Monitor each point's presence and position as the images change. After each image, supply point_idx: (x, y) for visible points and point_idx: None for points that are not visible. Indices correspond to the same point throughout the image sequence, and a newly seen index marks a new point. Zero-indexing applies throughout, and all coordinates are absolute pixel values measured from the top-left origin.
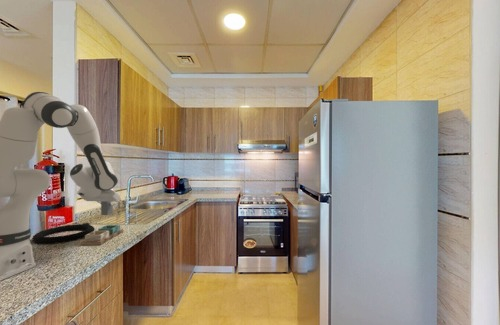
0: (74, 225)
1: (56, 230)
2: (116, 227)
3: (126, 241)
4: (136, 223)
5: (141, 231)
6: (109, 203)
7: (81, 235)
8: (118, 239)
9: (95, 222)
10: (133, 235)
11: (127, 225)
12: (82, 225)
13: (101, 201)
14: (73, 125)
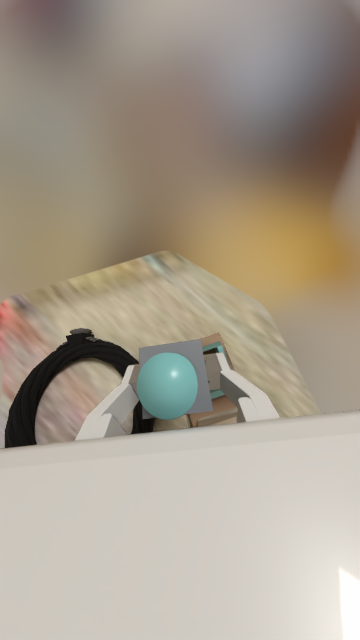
0: (55, 361)
1: (33, 400)
2: (228, 363)
3: (313, 409)
4: (184, 259)
5: (265, 314)
6: (218, 388)
7: (152, 427)
8: (270, 398)
9: (67, 285)
10: (278, 353)
11: (175, 281)
12: (80, 354)
13: (147, 415)
14: None
